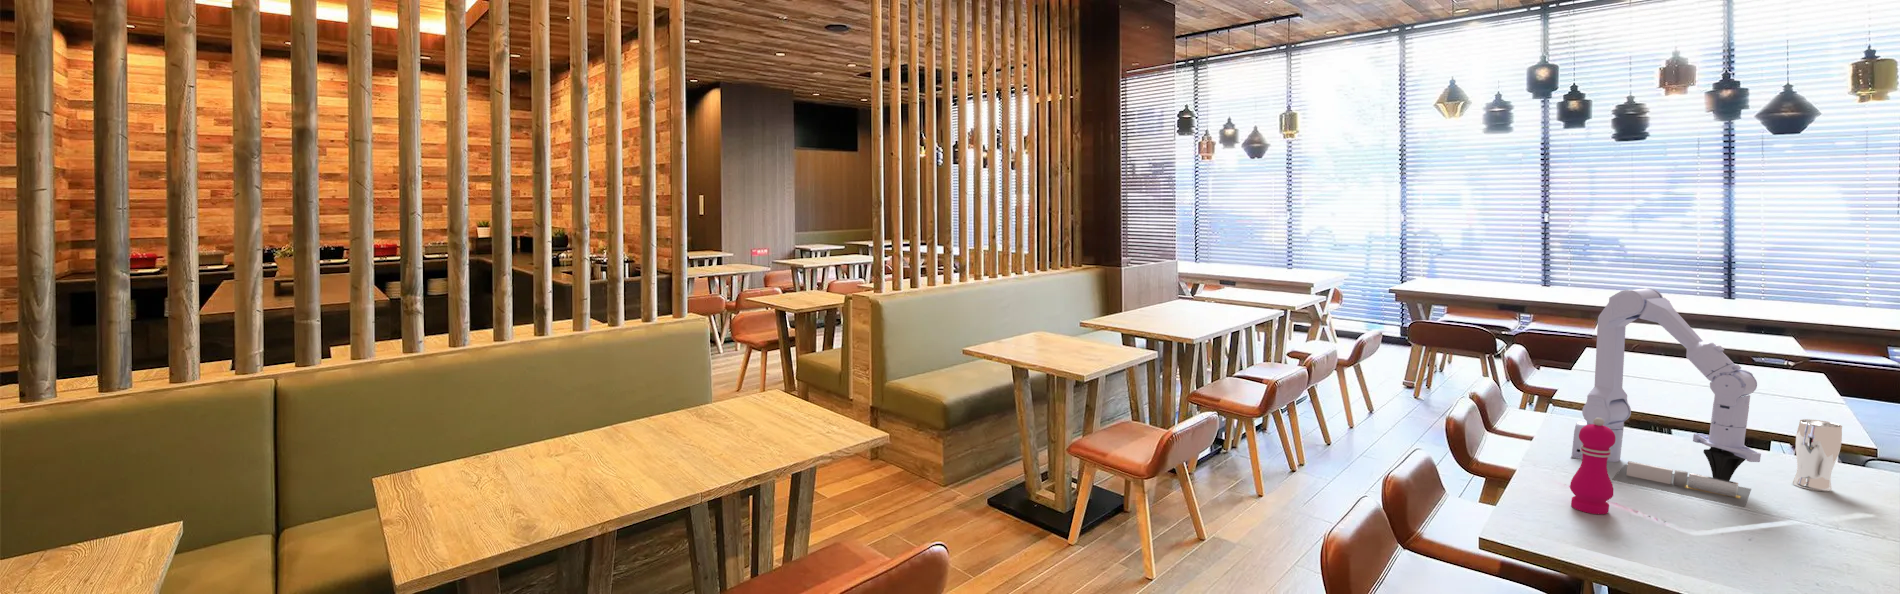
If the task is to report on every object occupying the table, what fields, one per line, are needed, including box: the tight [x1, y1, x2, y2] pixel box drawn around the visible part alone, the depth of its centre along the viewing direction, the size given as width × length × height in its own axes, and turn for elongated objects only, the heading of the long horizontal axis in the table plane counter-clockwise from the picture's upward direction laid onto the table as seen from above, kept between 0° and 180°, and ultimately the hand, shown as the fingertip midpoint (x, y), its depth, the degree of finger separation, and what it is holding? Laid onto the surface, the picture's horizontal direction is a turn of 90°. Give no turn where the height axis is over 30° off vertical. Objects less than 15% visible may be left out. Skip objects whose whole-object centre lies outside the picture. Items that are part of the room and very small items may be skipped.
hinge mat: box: [1611, 460, 1752, 508], centre depth 182 cm, size 22×16×4 cm
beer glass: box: [1792, 418, 1843, 492], centre depth 182 cm, size 7×7×15 cm
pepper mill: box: [1569, 418, 1615, 515], centre depth 169 cm, size 7×7×20 cm
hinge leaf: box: [1688, 472, 1739, 497], centre depth 177 cm, size 8×1×3 cm, turn 37°
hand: (1720, 482), depth 181 cm, fingers closed
